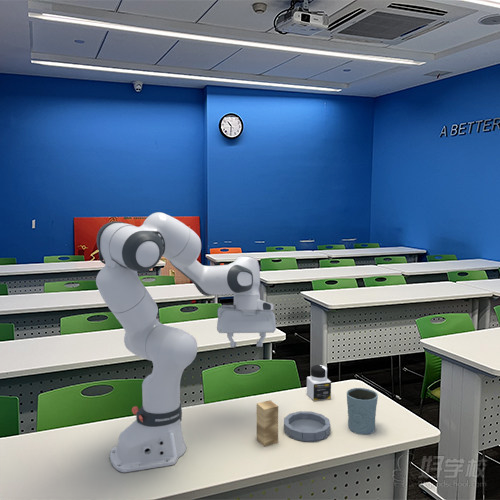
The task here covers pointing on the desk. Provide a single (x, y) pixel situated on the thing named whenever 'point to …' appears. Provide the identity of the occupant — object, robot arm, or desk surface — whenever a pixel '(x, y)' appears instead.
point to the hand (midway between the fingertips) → (246, 347)
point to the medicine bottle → (318, 384)
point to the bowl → (307, 426)
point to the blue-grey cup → (361, 410)
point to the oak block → (267, 423)
